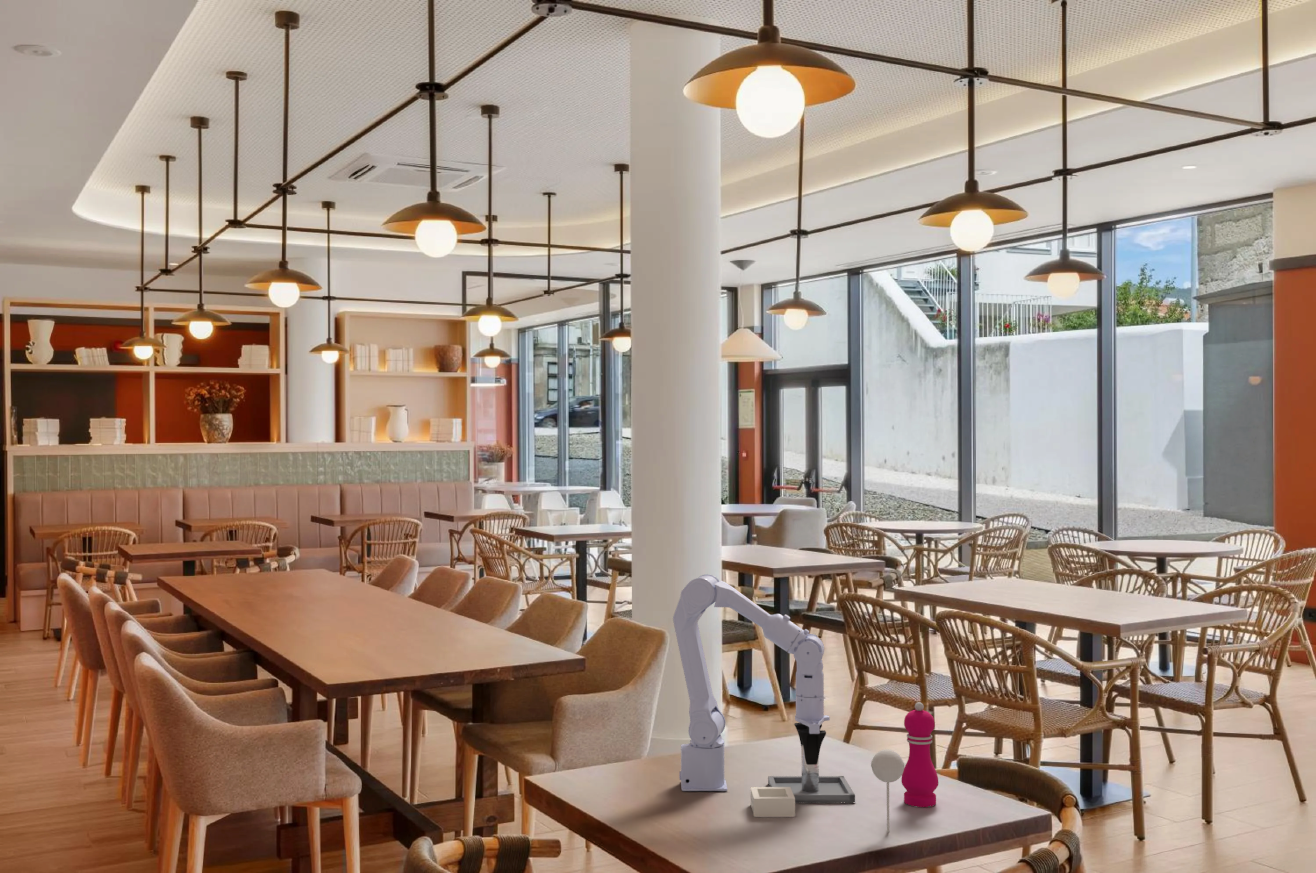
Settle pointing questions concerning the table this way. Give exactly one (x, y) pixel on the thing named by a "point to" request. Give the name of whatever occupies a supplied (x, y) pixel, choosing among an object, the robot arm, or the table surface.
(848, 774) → the table surface
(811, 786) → the steel pin
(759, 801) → the white hollow block
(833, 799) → the tray
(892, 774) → the lollipop
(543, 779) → the table surface
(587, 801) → the table surface
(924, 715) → the pepper mill
